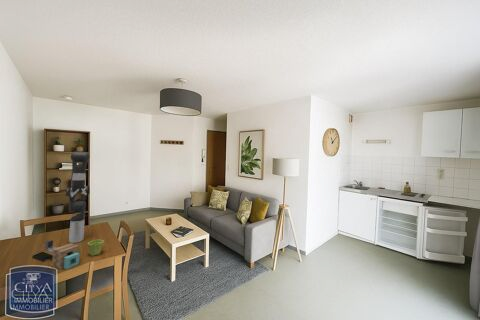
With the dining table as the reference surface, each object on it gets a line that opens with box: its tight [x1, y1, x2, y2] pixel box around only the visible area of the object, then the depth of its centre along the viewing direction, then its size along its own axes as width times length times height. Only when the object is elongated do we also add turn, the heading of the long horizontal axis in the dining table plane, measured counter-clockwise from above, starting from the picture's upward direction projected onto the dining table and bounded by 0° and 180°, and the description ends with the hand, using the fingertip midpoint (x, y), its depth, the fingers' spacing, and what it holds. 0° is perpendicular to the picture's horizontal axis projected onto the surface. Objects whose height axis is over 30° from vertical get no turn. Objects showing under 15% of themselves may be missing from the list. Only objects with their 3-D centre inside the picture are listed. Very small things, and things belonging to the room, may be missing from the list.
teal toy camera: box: [63, 252, 80, 270], centre depth 126 cm, size 3×7×7 cm, turn 161°
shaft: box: [44, 239, 69, 255], centre depth 131 cm, size 21×3×6 cm, turn 71°
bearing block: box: [51, 242, 80, 270], centre depth 128 cm, size 8×10×11 cm
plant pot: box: [87, 239, 104, 257], centre depth 143 cm, size 9×9×9 cm
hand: (77, 201), depth 143 cm, fingers open, 8 cm apart
